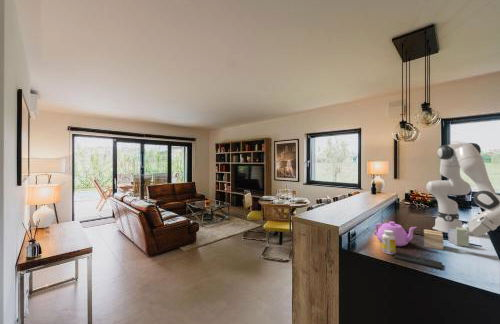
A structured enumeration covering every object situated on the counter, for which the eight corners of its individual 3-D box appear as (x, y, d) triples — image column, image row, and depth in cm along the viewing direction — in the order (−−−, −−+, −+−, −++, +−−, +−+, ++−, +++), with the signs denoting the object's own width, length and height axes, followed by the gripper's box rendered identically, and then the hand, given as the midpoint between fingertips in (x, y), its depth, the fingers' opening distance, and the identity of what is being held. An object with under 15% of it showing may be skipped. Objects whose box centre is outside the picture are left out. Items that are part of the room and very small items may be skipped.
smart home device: (441, 267, 106) (393, 256, 120) (442, 271, 106) (393, 259, 120) (442, 261, 112) (396, 251, 126) (442, 265, 112) (396, 254, 126)
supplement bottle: (396, 252, 128) (396, 230, 128) (394, 256, 123) (394, 233, 123) (383, 249, 132) (383, 228, 132) (381, 252, 127) (380, 231, 127)
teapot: (369, 240, 148) (368, 220, 148) (379, 235, 159) (378, 216, 159) (413, 252, 128) (412, 229, 128) (421, 244, 139) (421, 223, 139)
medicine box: (465, 246, 135) (465, 232, 135) (457, 246, 136) (456, 232, 136) (456, 242, 143) (455, 229, 143) (448, 241, 144) (447, 228, 144)
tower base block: (424, 242, 143) (424, 236, 143) (442, 246, 137) (442, 239, 137) (424, 246, 136) (424, 239, 136) (443, 250, 130) (443, 243, 130)
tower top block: (424, 236, 143) (423, 229, 143) (442, 238, 137) (441, 231, 137) (424, 239, 136) (423, 232, 136) (443, 243, 130) (442, 235, 130)
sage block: (456, 241, 131) (456, 227, 131) (467, 243, 128) (467, 228, 128) (456, 244, 128) (456, 229, 128) (468, 246, 124) (468, 230, 124)
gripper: (478, 212, 130) (456, 225, 137) (484, 219, 115) (459, 234, 121) (489, 221, 127) (466, 234, 134) (496, 229, 112) (470, 244, 119)
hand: (463, 234), depth 128 cm, fingers closed on sage block, 5 cm apart
